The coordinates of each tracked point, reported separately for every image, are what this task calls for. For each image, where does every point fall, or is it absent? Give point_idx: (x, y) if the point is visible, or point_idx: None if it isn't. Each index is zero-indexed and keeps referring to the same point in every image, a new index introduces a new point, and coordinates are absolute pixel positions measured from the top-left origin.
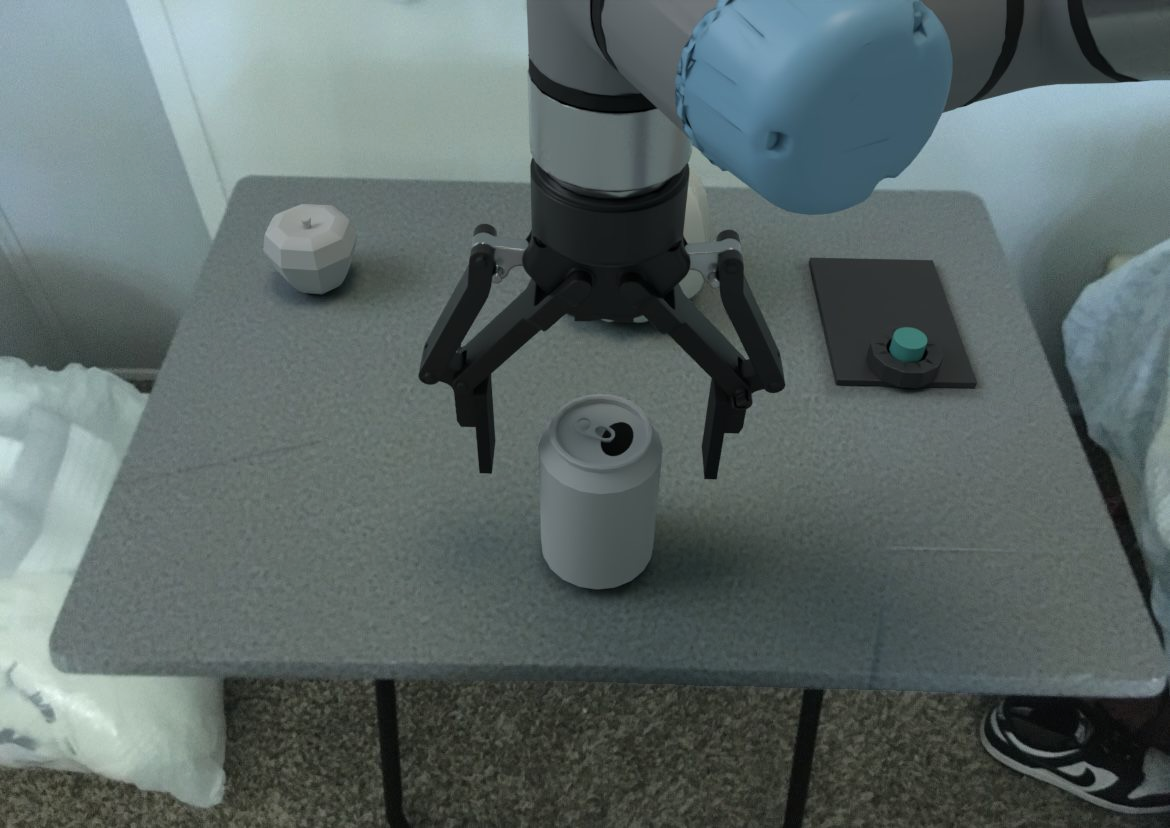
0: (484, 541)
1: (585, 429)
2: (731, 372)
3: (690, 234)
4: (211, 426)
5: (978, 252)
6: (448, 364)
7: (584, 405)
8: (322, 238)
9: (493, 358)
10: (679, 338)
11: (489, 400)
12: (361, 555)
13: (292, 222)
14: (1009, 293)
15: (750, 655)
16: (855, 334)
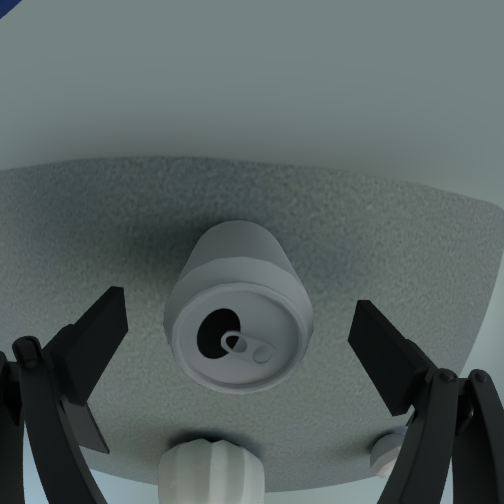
0: (325, 274)
1: (259, 349)
2: (23, 392)
3: (166, 490)
4: (453, 349)
5: None
6: (477, 397)
7: (257, 381)
8: (394, 463)
9: (440, 423)
10: (74, 484)
11: (391, 371)
12: (403, 263)
13: None
14: None
15: (126, 164)
16: (74, 410)
